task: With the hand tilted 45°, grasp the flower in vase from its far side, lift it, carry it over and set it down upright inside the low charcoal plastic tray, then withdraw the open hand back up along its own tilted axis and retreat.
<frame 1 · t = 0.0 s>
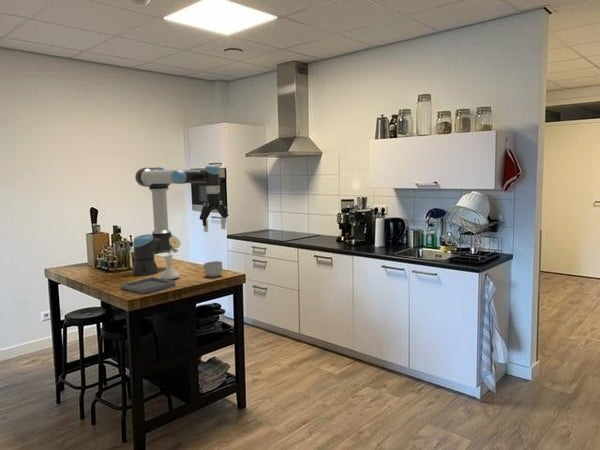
hand: (214, 230, 263), 28 cm above the table, tool pointing down, fingers open, 13 cm apart
flower in vase: (171, 278, 269), on the table
teacup: (214, 275, 275), on the table
charcoal tray: (148, 287, 249), on the table
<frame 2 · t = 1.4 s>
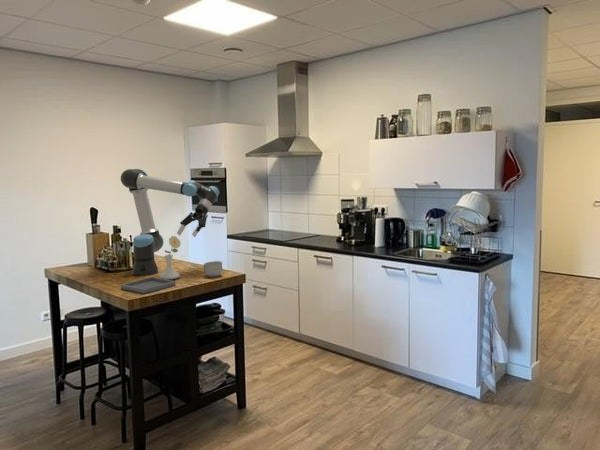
hand: (185, 234, 275), 24 cm above the table, tool tilted 45°, fingers open, 13 cm apart
nothing on the table moved.
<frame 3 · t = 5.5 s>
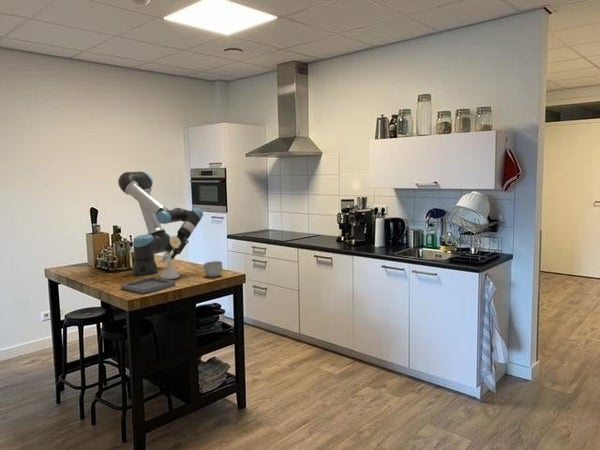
hand: (164, 262, 264), 10 cm above the table, tool tilted 45°, fingers open, 4 cm apart
flower in vase: (171, 278, 269), on the table, touching gripper, hand
everything else where it was.
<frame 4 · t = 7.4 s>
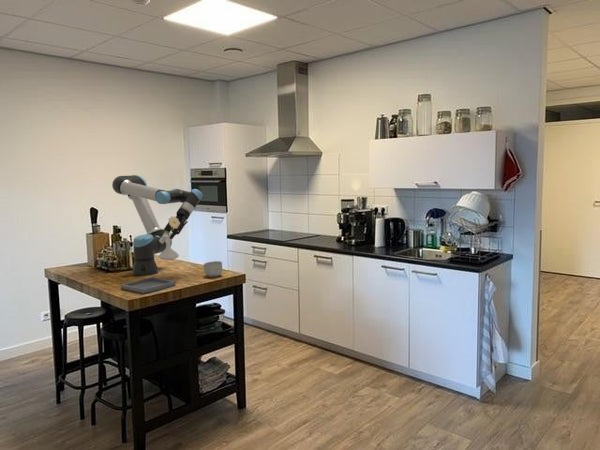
hand: (163, 242, 263), 22 cm above the table, tool tilted 45°
flower in vase: (170, 259, 267), point 11 cm above the table, touching gripper, hand
everything else where it was.
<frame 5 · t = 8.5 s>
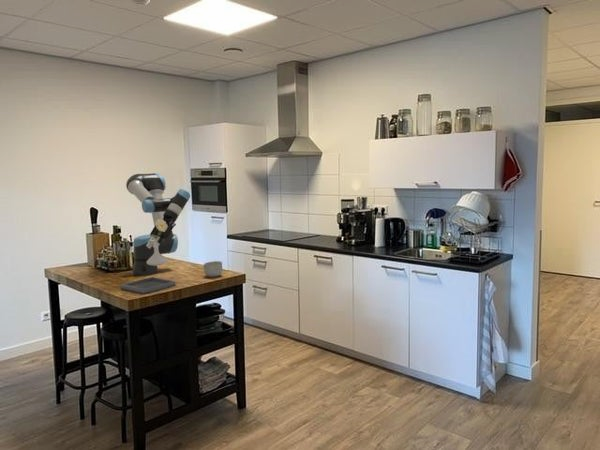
hand: (151, 247, 248), 22 cm above the table, tool tilted 45°, fingers closed on flower in vase, 4 cm apart
flower in vase: (159, 264, 252), point 11 cm above the table, touching gripper, hand
everything else where it was.
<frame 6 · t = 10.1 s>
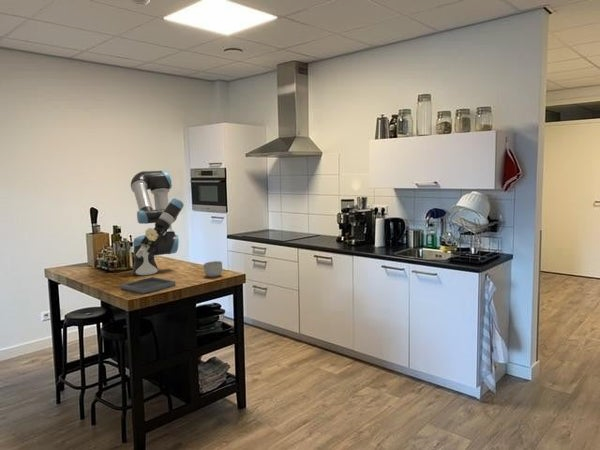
hand: (140, 256, 243), 18 cm above the table, tool tilted 45°, fingers closed on flower in vase, 4 cm apart
flower in vase: (148, 274, 247), point 7 cm above the table, touching gripper, hand
everything else where it was.
when the fingers open (12 cm above the table, at t = 11.5 s): flower in vase drops 1 cm, resting on charcoal tray.
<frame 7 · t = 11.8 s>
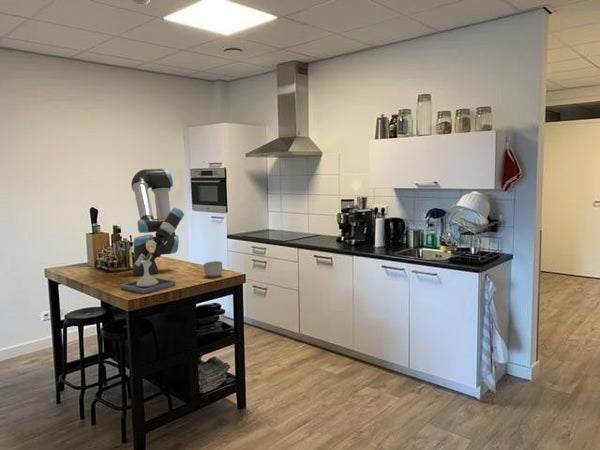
hand: (141, 265, 245), 13 cm above the table, tool tilted 45°, fingers open, 8 cm apart
flower in vase: (149, 286, 249), point 1 cm above the table, touching charcoal tray
everything else where it was.
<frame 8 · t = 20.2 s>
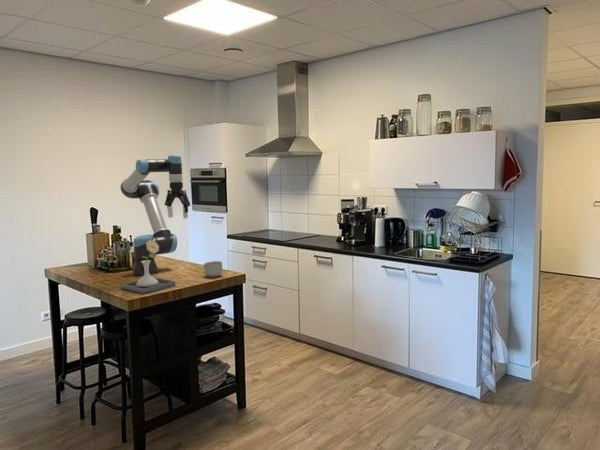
hand: (178, 217, 273), 35 cm above the table, tool pointing down, fingers open, 13 cm apart
nothing on the table moved.
at the end: flower in vase inside the target area on the charcoal tray (0.4 cm from its centre), point 0.6 cm above the charcoal tray's base; flower in vase tilted 0°; the gripper is holding nothing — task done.
